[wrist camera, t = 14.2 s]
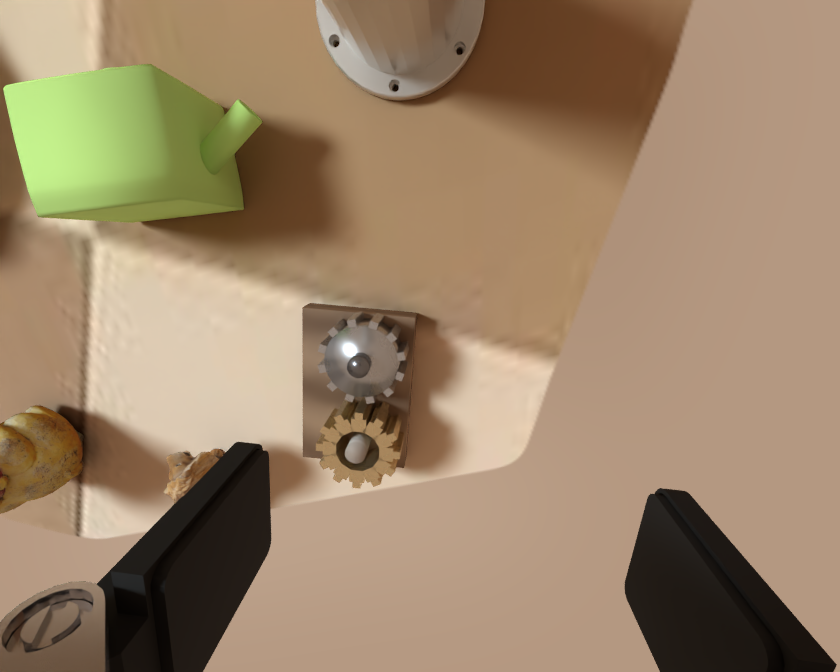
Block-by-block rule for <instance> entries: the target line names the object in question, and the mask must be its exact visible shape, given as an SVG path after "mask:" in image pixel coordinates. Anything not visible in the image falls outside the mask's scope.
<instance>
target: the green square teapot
mask: <svg viewBox="0 0 840 672" xmlns="http://www.w3.org/2000/svg"><path fill="white" fill-rule="evenodd" d="M3 90H4V95H5V100H6V105H7V109H8V114H9V118H10V123H11V127H12V131H13V136H14V140H15V144H16V148H17V152H18V156H19V159H20V163H21V167H22V171H23V175H24V178H25V182H26V185H27V189H28V192H29V195H30V197H31V200H32V203H33V205H34V208H35V210H36V213H37V215H38V217H43V218H60V219H77V220H95V221H113V222H142V221H151V220H160V219H169V218H178V217H186V216H195V215H203V214H212V213H220V212H228V211H236V210H244V204H243V195H242V188H241V183H240V178H239V173H238V168H237V163H236V158H235V153H236V152H237V150H238V149H239V148H240V147H241V146H242V145H243V144H244V143H245V141H246V140H247V139H248V138H249V137H250V136H251V135H252V134H253V132H254V131H255V130H256V129H257V128H258V127H259V126H260V125H261V123H262V122H263V121H262V120H261V119H260V118H259V117H258V116H257V115H256V114H255V113H254V112H253V111H252V110H251V109H250V108H249V107H248V106H247V105H246V104H244V103H243V102H242V101H241V100H239V99H238V100H237V101H236V102H235V103H234V104H233V106H232V107H231V108H230V109H229V111H228V112H227V113H226V114H225V113H224V109H223V108H222V106H220V105H218V104H217V103H215V102H214V101H212V100H210V99H209V98H207V97H206V96H204V95H202V94H201V93H199V92H197V91H196V90H194V89H192V88H191V87H189V86H188V85H186V84H184V83H183V82H181V81H179V80H177V79H176V78H174V77H172V76H170V75H169V74H167V73H165V72H164V71H162V70H160V69H158V68H157V67H155V66H153V65H152V64H143V65H134V66H126V67H118V68H116V67H113V68H106V69H102V70H96V71H89V72H82V73H75V74H68V75H62V76H56V77H49V78H43V79H37V80H31V81H25V82H19V83H14V84H9V85H6V86H5V87H4V88H3Z"/></svg>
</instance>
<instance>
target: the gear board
mask: <svg viewBox="0 0 840 672" xmlns="http://www.w3.org/2000/svg"><path fill="white" fill-rule="evenodd" d="M362 311H363V314H364V318H371V319H372V318H373V317H374V316H375V314H376V313H379V314H382V315H384V318H383V321H382V322H384V323H385V324H387V325H388V326H390V327H392V326H394V325H395V324H397V325H398V326H399V327H400V328H401V331H400V333H399V336H398V337H399V340H400V342H401V343H402V342H408V346H409V351H408V354H407V357H406V360H404V361H406V362H408V364H407V367H406V371H405V374H404V377H403V379H402V381H399V380H398V381H397V384H396V387H395V390H394V393H392V394H391V395H390V396H389V397H387V396H386V395H385V394H384V393H383V392H382V393H380V394H378V396H377V398H376V401H375V403H374V408H375V406H376V405H377V404H378V405H381V404H382V402H383V401H384V402H386V403H388V404H389V405H390V406H389V409H388V411H389V413H388V415H390V414H392V416H396V415H398V414H399V416H400V418H401V420H402V422H401V426H400V430H399V432H404V441H403V446H402V451H401V455H400V460H399V459H398V461H397V465H396V467H401V468H404V465H405V460H406V452H407V439H408V426H409V413H410V400H411V386H412V373H413V360H414V347H415V334H416V321H417V313H412V312H401V311H390V310H380V309H369V308H358V307H347V306H336V305H325V304H314V303H309V304H308V305H306V306H304V307H303V457H311V458H320V459H322V457H323V456H324V455H323V451H316V443H317V441H318V439H319V438H320V436H321V434H322V433H321V432H320V430H321V429H322V427H323V425H324V424H325V422H326V421H327V419H328V417H329V416H330V414H331V413H332V411H333V410H334V408H336V409H337V410H339V408H340V406H341V405H342V403H343V401H344V400H345V397H346V394H347V393H345V392H343V391H341V390H340V389H339V388H338V387H337V388H336V389H335V390H334V391H333V392H332V391H331V390H330V389H329V388H328V387H327V385H328V383H329V382H330V381H331V379H330V378H329V376H328V374H327V372H325V373H319V369H318V365H319V363H320V362H321V361H322V360H323V359H324V357H325V354H323V353H320V352H318V349H319V345H320V343H321V342H323V341H324V340H325V339H326V338H327V337H328V336H329V335H330V334H329V333H328V331H329V330H330V329H332V328H333V327H334V326H335V325H336V324H337V323H338V322H339V321H340V320H342V319H344V320H345V321H346V322H347V320H348V319H349V318H350V317H351V316H352V315H353V314H354V313H356V312H362ZM346 325H347V324H346ZM361 399H362V397H355V398H354V400H353V403H355V402H357V404H359V402H360V401H361ZM346 435H347V437H348V439H349V441H350V442H349V444H348V446H347V448H346V450H345V457H346V458H347V460H348V461H350V462H352V463H361V462H362V461H363V460H364V459H365V457H366V454H367V451H368V450H371V449H374V448H376V447H378V445H377V443H376V442H375V440H374V439H373V438H372V437H370V436H369V435H367V434H365V433H362V432H353V431H352V432H350V433H348V434H346Z"/></svg>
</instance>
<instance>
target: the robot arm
mask: <svg viewBox="0 0 840 672" xmlns="http://www.w3.org/2000/svg"><path fill="white" fill-rule="evenodd" d="M315 3H316V16H317V21H318V25H319V29H320V33H321V36H322V39H323V41H324V43H325V46H326V48H327V51H328V52H329V54H330V55H331V57H332V59H333V60H334V62H335V63H336V65H337V66H338V67H339V69H340V70H341V71H342V72H343V74H344V75H345V76H346V77H347V78H348V79H349V80H351V81H352V82H353V83H354V84H355V85H356V86H358V87H359V88H361V89H363V90H364V91H366V92H368V93H369V94H372V95H375V96H377V97H380V98H383V99H390V100H398V101H400V100H411V99H416V98H419V97H422V96H426V95H429V94H431V93H432V92H434V91H436V90H438V89H439V88H441V87H443V86H444V85H445V84H446V83H448V82H449V81H450V80H451V79H452V78H453V77H455V76H456V74H457V73H458V72H459V71H460V69H461V68H462V67H463V66H464V65H465V63H466V62H467V60H468V58H469V56H470V54H471V53H472V51H473V49H474V47H475V44H476V42H477V39H478V36H479V33H480V30H481V25H482V20H483V15H484V6H485V0H315ZM337 42H339V43H340V44H339V46H338V47H335V43H337ZM459 49H461V50H462V51H463V53H462V54H461V55H458V54H457V53H456V52H457V50H459ZM394 86H398V87H399V89H398V91H396V92H394V91H393V87H394ZM270 516H271V515H270V480H269V454H268V452H267V451H263V449H262V446H261V445H260V444H253V443H244V442H236V443H235V444H234V445H233V446H232V447H231V448H230V449H229V450H228V451H227V452H226V453H225V454H224V455H223V456H222V457H221V458H220V459H219V460H218V461H217V462H216V463H215V464H214V465H213V466H212V467H211V468H210V469H209V470H208V472H207V473H206V474H205V475H204V476H203V477H202V478H201V479H200V480H199V481H198V482H197V483H196V484H195V485H194V486H193V487H192V488H191V489H190V490H189V491H188V492H187V493H186V494H185V495H184V496H183V497H181V498H180V499H179V500H178V501H177V502H176V503H175V504H174V505H173V506H172V507H171V508H170V509H169V510H168V511H167V512H166V513H165V515H164V516H163V517H162V518H161V519H160V520H159V521H158V522H157V523H156V524H155V525H154V526H153V527H152V528H151V529H150V530H149V531H148V532H147V533H146V534H145V535H144V536H143V537H142V538H141V539H140V540H139V541H138V542H137V543H136V545H134V546H133V547H132V548H131V549H130V550H129V552H128V553H127V554H126V555H125V556H124V557H123V558H122V559H121V560H120V561H119V562H118V563H117V564H116V565H115V566H114V567H113V568H112V569H111V570H110V571H109V572H108V573H107V574H106V575H105V576H104V577H103V578H102V579H101V580H100V581H99V582H98V583H97V584H95V583H90V582H86V581H79V582H69V583H65V584H61V585H57V586H54V587H52V588H49V589H47V590H44V591H42V592H40V593H37V594H36V595H34V596H32V597H31V598H29V599H27V600H26V601H24V602H22V603H21V604H19V605H18V606H17V607H16V608H14V609H13V610H12V611H11V612H10V613H8V614H7V615H6V616H5V617H4V618H3V619H2V620H1V622H0V672H203V670H204V669H205V667H206V665H207V663H208V661H209V660H210V658H211V656H212V654H213V652H214V650H215V649H216V647H217V645H218V643H219V641H220V639H221V638H222V636H223V634H224V632H225V630H226V629H227V627H228V625H229V623H230V621H231V620H232V618H233V616H234V614H235V612H236V610H237V608H238V607H239V605H240V603H241V601H242V600H243V598H244V596H245V594H246V592H247V590H248V589H249V587H250V585H251V583H252V581H253V580H254V578H255V576H256V574H257V572H258V570H259V569H260V567H261V565H262V563H263V561H264V560H265V558H266V556H267V554H268V551H269V548H270V544H271V517H270ZM625 594H626V598H627V601H628V603H629V605H630V607H631V609H632V612H633V614H634V616H635V618H636V620H637V622H638V625H639V627H640V629H641V631H642V633H643V635H644V638H645V640H646V642H647V644H648V646H649V649H650V651H651V653H652V655H653V657H654V660H655V662H656V664H657V666H658V668H659V670H660V672H833V671H834V669H835V667H836V663H835V662H834V661H833V660H832V659H831V658H830V656H829V655H828V654H827V653H826V652H825V651H824V649H823V648H822V647H821V646H820V645H819V644H818V643H817V641H816V640H815V639H814V638H813V637H812V636H811V634H810V633H809V632H808V631H807V630H806V629H805V627H804V626H803V625H802V624H801V623H800V622H799V621H798V620H797V618H796V617H795V616H794V615H793V614H792V612H791V611H790V610H789V609H788V608H787V607H786V605H785V604H784V603H783V602H782V601H781V600H780V598H779V597H778V596H777V595H776V594H775V593H774V591H773V590H772V589H771V588H770V587H769V586H768V585H767V583H766V582H765V581H764V580H763V579H762V578H761V576H760V575H759V574H758V573H757V572H756V571H755V569H754V568H753V567H752V566H751V565H750V564H749V563H748V561H747V560H746V559H745V558H744V557H743V556H742V554H741V553H740V552H739V551H738V550H737V549H736V547H735V546H734V545H733V544H732V543H731V542H730V540H729V539H728V538H727V537H726V536H725V535H724V534H723V532H722V531H721V530H720V529H719V528H718V527H717V525H716V524H715V523H714V522H713V521H712V520H711V519H710V517H709V516H708V515H707V514H706V513H705V512H704V510H703V509H702V508H701V507H700V506H699V505H698V503H697V502H696V501H695V500H694V499H693V498H692V496H691V495H690V494H689V493H687V492H685V491H679V490H671V489H662V488H660V489H658V490H657V491H656V492H655V494H650V495H649V497H648V499H647V503H646V506H645V510H644V513H643V517H642V521H641V524H640V528H639V532H638V535H637V539H636V543H635V547H634V550H633V554H632V558H631V562H630V565H629V569H628V573H627V576H626V580H625Z"/></svg>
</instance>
